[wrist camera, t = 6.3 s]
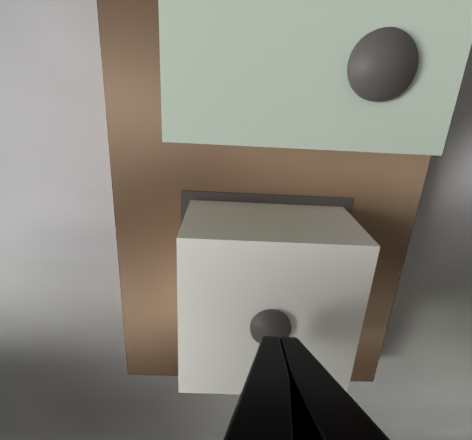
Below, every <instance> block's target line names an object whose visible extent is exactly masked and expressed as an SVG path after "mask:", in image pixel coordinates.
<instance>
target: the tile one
mask: <svg viewBox="0 0 472 440" xmlns="http://www.w3.org/2000/svg"><path fill="white" fill-rule="evenodd" d="M176 242H177V316H178V391H179V393H206V394H241V392H242V389H243V387H244V384H245V381H246V379H247V376H248V373H249V371H250V368H251V365H252V363H253V360H254V357H255V355H256V352H257V350H258V347H259V344H260V342H261V339H262V337H263V336H277V337H279V339H280V338H281V337H296V338H298V339H299V340H300V341H301V342H302V343H303V345H304V346H305V347H306V348H307V349H308V350H309V351H310V352H311V353H312V354H313V356H314V357H315V358H316V359H317V360H318V361H319V362H320V363H321V364H322V366H323V367H324V368H325V369H326V370H327V371H328V372H329V373H330V374H331V375H332V377H333V378H334V379H335V380H336V381H337V382H338V383H339V384H340V385H341V386H342V388H343V389H344V390H345V391H346V392H348V388H349V383H350V379H351V374H352V370H353V366H354V361H355V357H356V352H357V348H358V343H359V339H360V334H361V330H362V326H363V321H364V317H365V312H366V308H367V303H368V299H369V295H370V290H371V286H372V281H373V277H374V272H375V268H376V263H377V259H378V255H379V250H380V245H379V244H378V243H377V242H376V241H375V240H374V239H373V238H372V237H371V236H370V235H369V234H368V233H367V232H366V231H365V230H364V228H363V227H362V226H361V225H360V224H359V223H358V222H357V221H356V220H355V219H354V218H353V217H352V216H351V215H350V214H349V212H348V211H347V210H346V209H345V208H344V207H336V206H314V205H291V204H269V203H247V202H224V201H202V200H190V203H189V205H188V208H187V211H186V213H185V216H184V219H183V222H182V224H181V227H180V230H179V232H178V235H177V238H176Z"/></svg>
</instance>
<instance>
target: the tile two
mask: <svg viewBox="0 0 472 440" xmlns="http://www.w3.org/2000/svg"><path fill="white" fill-rule="evenodd" d="M158 7H159V44H160V81H161V118H162V142H173V143H193V144H213V145H233V146H254V147H274V148H294V149H314V150H334V151H355V152H375V153H395V154H415V155H435V156H442V153H443V149H444V145H445V141H446V138H447V134H448V130H449V127H450V123H451V119H452V115H453V112H454V108H455V104H456V100H457V97H458V93H459V89H460V86H461V82H462V78H463V74H464V71H465V67H466V63H467V60H468V56H469V52H470V48H471V45H472V0H158Z"/></svg>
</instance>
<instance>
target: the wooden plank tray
mask: <svg viewBox="0 0 472 440" xmlns="http://www.w3.org/2000/svg"><path fill="white" fill-rule="evenodd" d="M97 9H98V21H99V33H100V45H101V57H102V69H103V81H104V93H105V105H106V117H107V129H108V141H109V153H110V165H111V177H112V190H113V202H114V214H115V226H116V238H117V250H118V262H119V274H120V286H121V298H122V310H123V322H124V334H125V346H126V358H127V370H128V374H133V375H167V376H178V316H177V242H176V238H177V235H178V232H179V230H180V227H181V224H182V222H183V219H184V216H185V213H186V211H187V208H188V205H189V203H190V200H202V201H224V202H247V203H269V204H291V205H314V206H336V207H344V208H345V209H346V210H347V211H348V212H349V214H350V215H351V216H352V217H353V218H354V219H355V220H356V221H357V222H358V223H359V224H360V225H361V226H362V227H363V228H364V230H365V231H366V232H367V233H368V234H369V235H370V236H371V237H372V238H373V239H374V240H375V241H376V242H377V243H378V244H379V245H380V250H379V255H378V259H377V263H376V268H375V272H374V277H373V281H372V286H371V290H370V295H369V299H368V303H367V308H366V312H365V317H364V321H363V326H362V330H361V334H360V339H359V343H358V348H357V352H356V357H355V361H354V366H353V370H352V374H351V379H350V381H371V382H373V380H374V376H375V372H376V368H377V364H378V360H379V356H380V352H381V349H382V345H383V341H384V337H385V333H386V329H387V325H388V321H389V318H390V314H391V310H392V306H393V302H394V298H395V294H396V290H397V286H398V283H399V279H400V275H401V271H402V267H403V263H404V259H405V255H406V251H407V248H408V244H409V240H410V236H411V232H412V228H413V224H414V220H415V217H416V213H417V209H418V205H419V201H420V197H421V193H422V189H423V185H424V182H425V178H426V174H427V170H428V166H429V162H430V158H431V155H415V154H395V153H375V152H355V151H334V150H314V149H294V148H274V147H254V146H233V145H213V144H193V143H173V142H162V118H161V81H160V44H159V7H158V0H97Z"/></svg>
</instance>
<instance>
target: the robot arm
mask: <svg viewBox="0 0 472 440" xmlns="http://www.w3.org/2000/svg"><path fill="white" fill-rule="evenodd" d="M223 440H390V439H389V438H388V437H387V436H386V435H385V434H384V433H383V432H382V430H381V429H380V428H379V427H378V426H377V425H376V424H375V423H374V422H373V421H372V419H371V418H370V417H369V416H368V415H367V414H366V413H365V412H364V411H363V410H362V408H361V407H360V406H359V405H358V404H357V403H356V402H355V401H354V400H353V399H352V397H351V396H350V395H349V394H348V393H347V392H346V391H345V390H344V389H343V388H342V386H341V385H340V384H339V383H338V382H337V381H336V380H335V379H334V378H333V377H332V375H331V374H330V373H329V372H328V371H327V370H326V369H325V368H324V367H323V366H322V364H321V363H320V362H319V361H318V360H317V359H316V358H315V357H314V356H313V354H312V353H311V352H310V351H309V350H308V349H307V348H306V347H305V346H304V345H303V343H302V342H301V341H300V340H299V339H298V338H296V337H281V338H280V339H279V337H277V336H263V337H262V339H261V342H260V344H259V347H258V350H257V352H256V355H255V357H254V360H253V363H252V365H251V368H250V371H249V373H248V376H247V379H246V381H245V384H244V387H243V389H242V392H241V394H240V397H239V400H238V402H237V405H236V408H235V410H234V413H233V416H232V418H231V421H230V424H229V426H228V429H227V432H226V434H225V437H224V439H223Z"/></svg>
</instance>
